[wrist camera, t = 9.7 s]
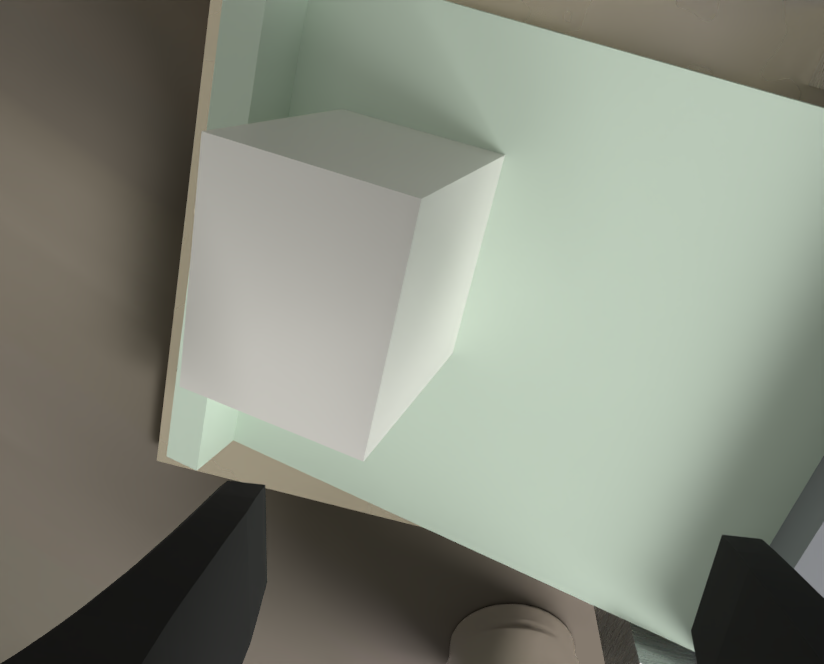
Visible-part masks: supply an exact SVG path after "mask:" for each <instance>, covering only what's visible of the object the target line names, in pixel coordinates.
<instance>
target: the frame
mask: <svg viewBox="0 0 824 664" xmlns="http://www.w3.org/2000/svg"><path fill="white" fill-rule="evenodd" d="M222 1H223V0H210V7H209V16H208V24H207V33H206V42H205V50H204V59H203V67H202V76H201V85H200V93H199V102H198V110H197V119H196V128H195V136H194V145H193V153H192V162H191V171H190V179H189V188H188V196H187V205H186V214H185V222H184V231H183V239H182V248H181V257H180V265H179V274H178V282H177V291H176V299H175V308H174V317H173V325H172V334H171V342H170V351H169V360H168V368H167V377H166V385H165V394H164V403H163V411H162V420H161V428H160V437H159V446H158V454H157V461H160V462H164V463H168V464H172V465H176V466H180V467H184V468H188V469H192V468H190V467H188V466H186V465H184V464H182V463H179V462H177V461H175V460H173V459H171V458H169V457H167V448H168V440H169V431H170V423H171V415H172V407H173V399H174V391H175V383H176V375H177V366H178V358H179V350H180V342H181V334H182V326H183V318H184V310H185V301H186V293H187V285H188V277H189V269H190V260H191V248H192V237H193V225H194V214H195V202H196V191H197V179H198V168H199V156H200V145H201V133H202V131H206V130H207V123H208V115H209V106H210V98H211V90H212V82H213V74H214V66H215V58H216V50H217V41H218V33H219V25H220V17H221V9H222ZM447 1H450V2H454V3H457V4H461V5H464V6H468V7H471V8H475V9H478V10H482V11H485V12H489V13H493V14H496V15H500V16H503V17H507V18H510V19H514V20H517V21H521V22H524V23H528V24H531V25H535V26H538V27H542V28H545V29H549V30H553V31H556V32H560V33H563V34H567V35H570V36H574V37H577V38H581V39H584V40H588V41H591V42H595V43H598V44H602V45H606V46H609V47H613V48H616V49H620V50H623V51H627V52H630V53H634V54H637V55H641V56H644V57H648V58H651V59H655V60H659V61H662V62H666V63H669V64H673V65H676V66H680V67H683V68H687V69H690V70H694V71H697V72H701V73H704V74H708V75H711V76H715V77H719V78H722V79H726V80H729V81H733V82H736V83H740V84H743V85H747V86H750V87H754V88H757V89H761V90H764V91H768V92H772V93H775V94H779V95H782V96H786V97H789V98H793V99H796V100H800V101H803V102H807V103H810V104H814V105H817V106H821V107H824V0H447ZM192 470H194V469H192ZM197 471H200V472H204V473H208V474H212V475H216V476H220V477H224V478H227V479H231V480H235V481H239V482H244V483H254V484H263V485H265V488H267V489H271V490H275V491H279V492H283V493H287V494H291V495H295V496H299V497H303V498H307V499H311V500H315V501H319V502H323V503H327V504H331V505H335V506H339V507H343V508H347V509H351V510H355V511H359V512H363V513H367V514H371V515H375V516H379V517H383V518H387V519H391V520H395V521H399V522H403V523H407V524H411V525H415V526H419V525H417V524H415V523H413V522H410V521H408V520H406V519H404V518H402V517H400V516H397V515H395V514H393V513H391V512H389V511H386V510H384V509H382V508H380V507H378V506H376V505H373V504H371V503H369V502H367V501H365V500H362V499H360V498H358V497H356V496H354V495H352V494H349V493H347V492H345V491H343V490H341V489H338V488H336V487H334V486H332V485H330V484H328V483H325V482H323V481H321V480H319V479H317V478H314V477H312V476H310V475H308V474H306V473H304V472H301V471H299V470H297V469H295V468H293V467H290V466H288V465H286V464H284V463H282V462H280V461H277V460H275V459H273V458H271V457H269V456H266V455H264V454H262V453H260V452H258V451H256V450H253V449H251V448H249V447H247V446H245V445H242V444H240V443H238V442H236V441H234V440H233V441H232V442H231V443H230V444H228V445H227V446H226V447H225V448H224V449H222V450H221V451H220V452H219V453H218V454H216V455H215V456H214V457H213V458H211V459H210V460H209V461H208V462H207V463H205V464H204V465H203V466H202V467H201V468H199V469H198V470H197ZM419 527H421V526H419ZM423 528H424V527H423ZM594 609H595V614H596V620H597V625H598V630H599V635H600V640H601V646H602V651H603V656H604V661H605V664H697V660H696V655H695V652H694V651H692V650H690V649H687V648H685V647H683V646H681V645H679V644H677V643H674V642H672V641H670V640H668V639H666V638H663V637H661V636H659V635H657V634H655V633H653V632H650V631H648V630H646V629H644V628H642V627H639V626H637V625H635V624H633V623H631V622H629V621H626V620H624V619H622V618H620V617H618V616H615V615H613V614H611V613H609V612H607V611H605V610H602V609H600V608H598V607H596V606H594Z"/></svg>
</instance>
